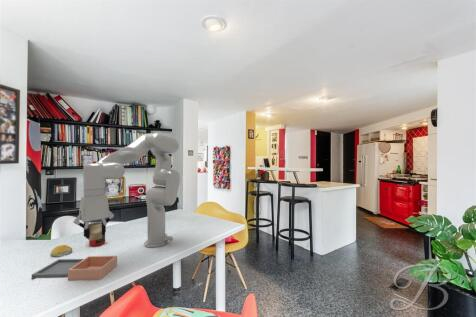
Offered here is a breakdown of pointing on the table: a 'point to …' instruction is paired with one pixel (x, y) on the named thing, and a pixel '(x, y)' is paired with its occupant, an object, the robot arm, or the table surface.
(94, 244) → the canned food
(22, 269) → the table surface
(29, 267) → the table surface
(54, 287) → the table surface
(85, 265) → the salmon square tray
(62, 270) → the charcoal tray
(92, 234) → the beech cylinder
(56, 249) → the bread roll
